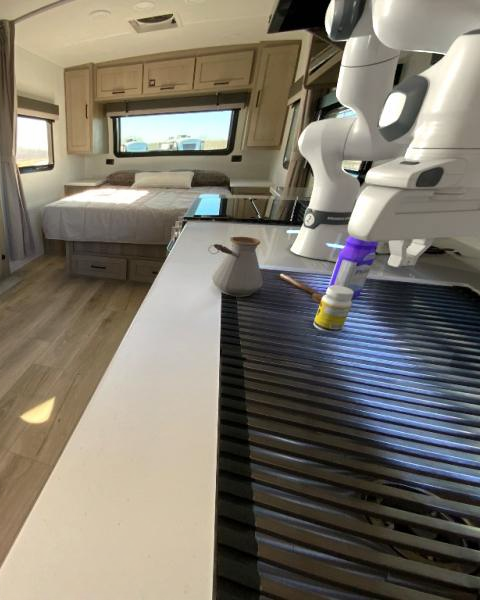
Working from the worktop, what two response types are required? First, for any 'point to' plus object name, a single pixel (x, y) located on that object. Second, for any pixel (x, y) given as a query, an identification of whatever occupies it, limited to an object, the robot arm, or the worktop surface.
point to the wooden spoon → (304, 288)
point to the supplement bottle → (333, 309)
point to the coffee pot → (238, 268)
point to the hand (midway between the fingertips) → (400, 265)
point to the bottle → (354, 265)
